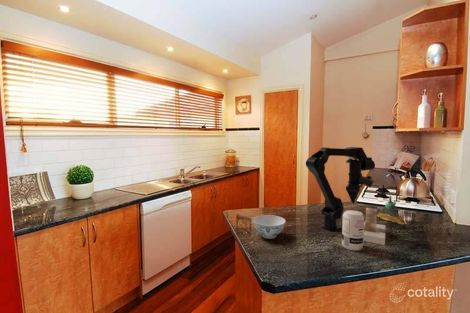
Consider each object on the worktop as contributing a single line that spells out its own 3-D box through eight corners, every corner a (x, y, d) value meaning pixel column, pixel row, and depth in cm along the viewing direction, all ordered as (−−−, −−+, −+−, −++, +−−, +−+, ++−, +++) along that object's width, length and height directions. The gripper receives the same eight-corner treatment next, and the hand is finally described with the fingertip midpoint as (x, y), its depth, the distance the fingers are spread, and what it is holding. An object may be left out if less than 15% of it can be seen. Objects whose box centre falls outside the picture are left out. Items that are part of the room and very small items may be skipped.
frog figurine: (378, 213, 151) (382, 190, 149) (408, 226, 135) (414, 201, 132) (367, 215, 148) (371, 191, 145) (397, 229, 131) (402, 202, 129)
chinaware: (260, 244, 109) (260, 227, 109) (249, 231, 124) (249, 216, 123) (291, 240, 113) (291, 223, 113) (276, 228, 128) (277, 213, 127)
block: (364, 235, 118) (365, 210, 117) (365, 232, 122) (366, 207, 121) (375, 237, 116) (376, 211, 115) (375, 234, 120) (377, 209, 119)
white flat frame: (354, 239, 114) (354, 232, 114) (358, 226, 130) (358, 220, 129) (384, 245, 108) (385, 237, 108) (385, 231, 123) (385, 224, 123)
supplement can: (344, 241, 112) (346, 208, 111) (364, 246, 107) (366, 212, 106) (339, 247, 106) (340, 213, 105) (360, 253, 101) (361, 217, 99)
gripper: (371, 175, 117) (370, 207, 119) (373, 169, 133) (372, 198, 135) (346, 173, 123) (345, 204, 125) (350, 168, 139) (350, 196, 140)
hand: (354, 200), depth 131 cm, fingers open, 9 cm apart
